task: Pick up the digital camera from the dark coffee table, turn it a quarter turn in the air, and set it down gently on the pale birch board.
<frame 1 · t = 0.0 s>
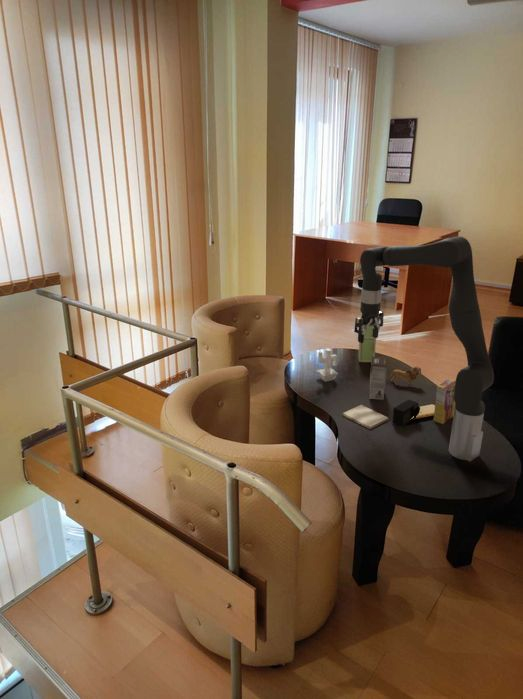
hand: (368, 340, 198), 29 cm above the table, tool pointing down, fingers open, 8 cm apart
figurine: (326, 379, 233), on the table
birch board: (365, 417, 200), on the table
coffee box: (376, 395, 218), on the table
toy refrigerator: (366, 360, 253), on the table
candy box: (443, 419, 198), on the table
digital camera: (405, 421, 197), on the table
lion figurine: (403, 384, 227), on the table
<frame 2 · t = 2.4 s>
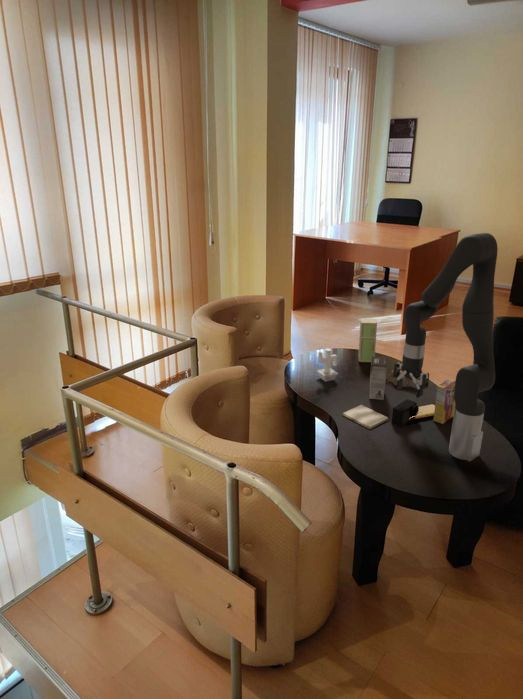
hand: (408, 392, 192), 12 cm above the table, tool pointing down, fingers open, 8 cm apart
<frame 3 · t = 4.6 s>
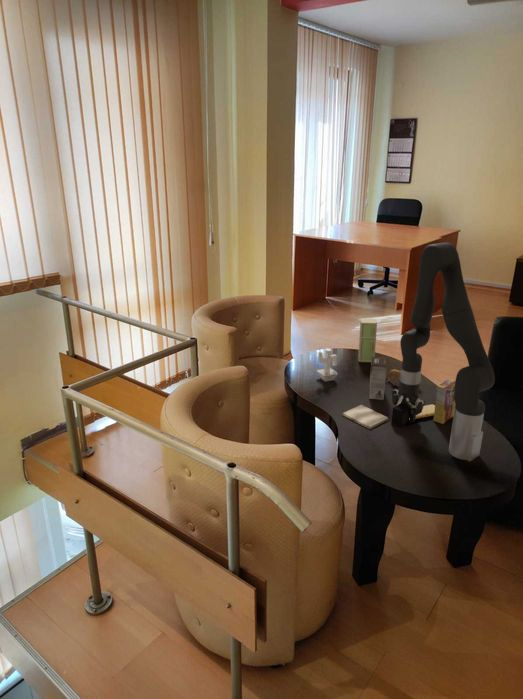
hand: (405, 418, 196), 1 cm above the table, tool pointing down, fingers closed on digital camera, 5 cm apart
digital camera: (404, 421, 197), on the table, touching gripper
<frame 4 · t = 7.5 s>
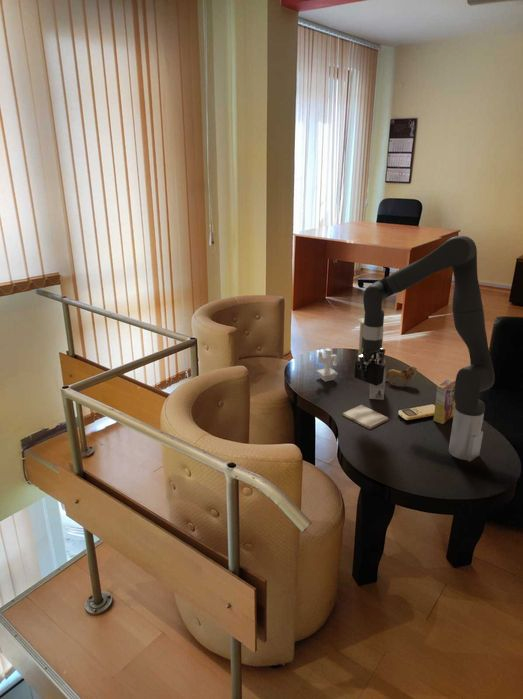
hand: (369, 376, 193), 18 cm above the table, tool pointing down, fingers closed on digital camera, 5 cm apart
digital camera: (369, 380, 193), point 17 cm above the table, touching gripper
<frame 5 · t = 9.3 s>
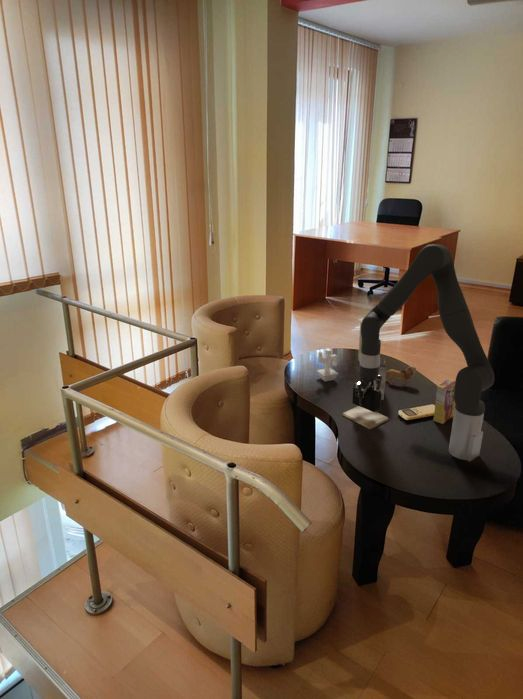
hand: (366, 402, 197), 7 cm above the table, tool pointing down, fingers closed on digital camera, 5 cm apart
digital camera: (367, 405, 197), point 5 cm above the table, touching gripper
when the fingers open (4 cm above the table, at t = 10.7 s): digital camera drops 2 cm, resting on birch board.
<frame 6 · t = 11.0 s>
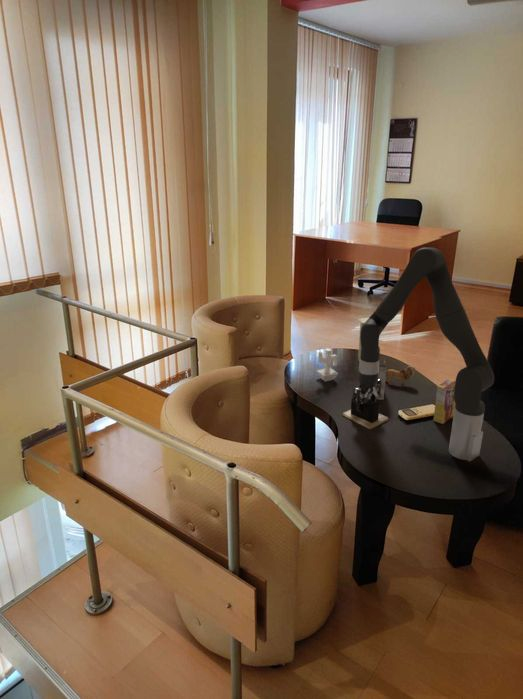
hand: (366, 407, 198), 4 cm above the table, tool pointing down, fingers open, 7 cm apart
digital camera: (365, 416, 199), point 1 cm above the table, touching birch board
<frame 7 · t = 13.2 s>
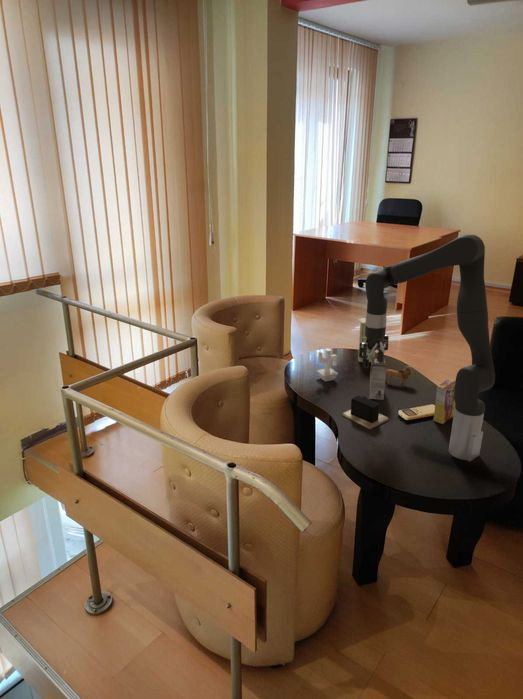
hand: (372, 364, 191), 23 cm above the table, tool pointing down, fingers open, 8 cm apart
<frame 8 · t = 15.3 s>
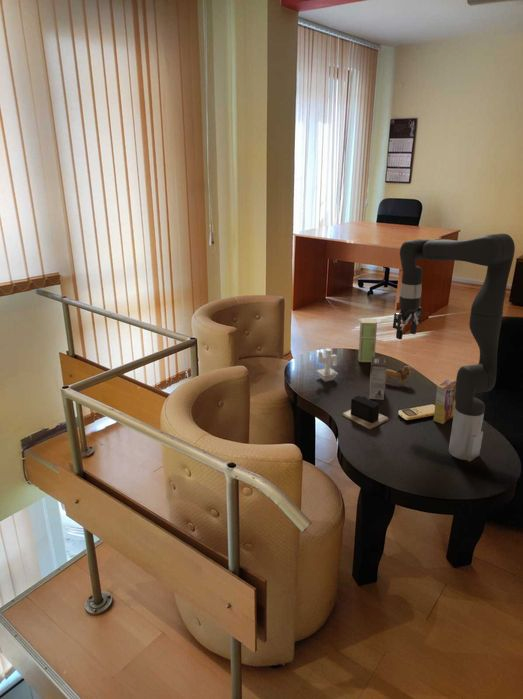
hand: (406, 336, 190), 33 cm above the table, tool pointing down, fingers open, 8 cm apart
at the end: digital camera inside the target area on the birch board (0.9 cm from its centre), point 0.8 cm above the birch board's base; digital camera tilted 0°; the gripper is holding nothing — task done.
